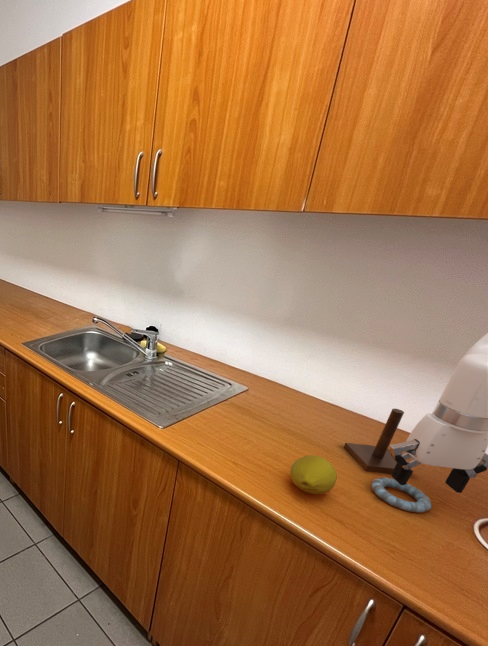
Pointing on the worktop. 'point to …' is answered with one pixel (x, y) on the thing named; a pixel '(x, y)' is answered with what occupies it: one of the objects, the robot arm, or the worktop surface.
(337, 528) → the worktop surface
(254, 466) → the worktop surface
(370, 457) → the peg stand
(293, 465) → the lemon
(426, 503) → the ring
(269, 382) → the worktop surface
